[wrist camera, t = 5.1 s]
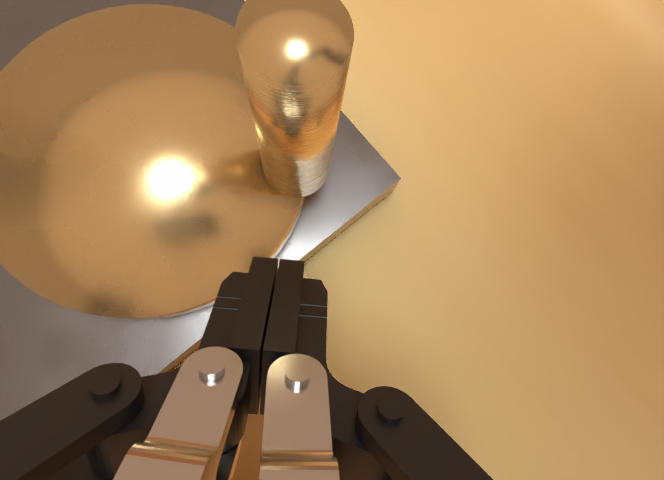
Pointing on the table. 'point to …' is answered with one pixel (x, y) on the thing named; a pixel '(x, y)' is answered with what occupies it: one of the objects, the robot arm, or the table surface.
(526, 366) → the table surface
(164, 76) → the brass dish with post
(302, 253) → the base
